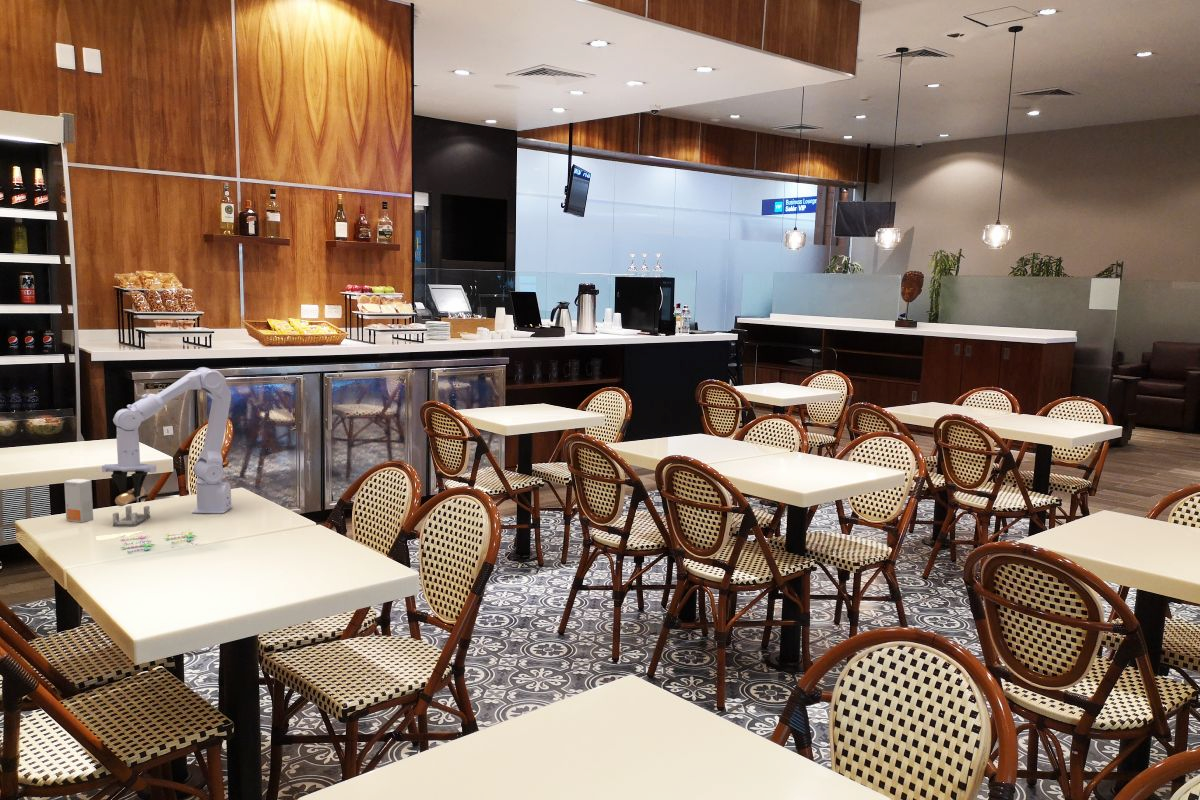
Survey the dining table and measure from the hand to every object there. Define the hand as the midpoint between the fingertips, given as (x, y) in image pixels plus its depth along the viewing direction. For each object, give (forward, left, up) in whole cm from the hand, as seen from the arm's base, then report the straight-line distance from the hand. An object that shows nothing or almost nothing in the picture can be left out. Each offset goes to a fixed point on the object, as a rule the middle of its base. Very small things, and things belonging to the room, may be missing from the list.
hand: (130, 496), depth 263 cm
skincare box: (+15, -2, -8) cm, 17 cm away
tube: (0, 0, -2) cm, 2 cm away
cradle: (0, 0, -8) cm, 8 cm away
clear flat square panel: (-18, +21, -8) cm, 29 cm away
